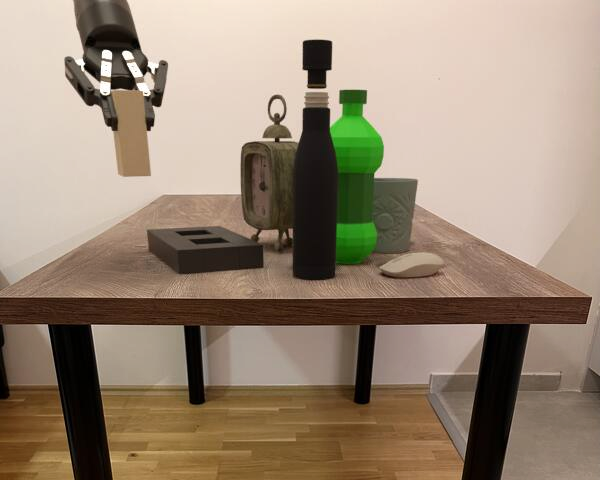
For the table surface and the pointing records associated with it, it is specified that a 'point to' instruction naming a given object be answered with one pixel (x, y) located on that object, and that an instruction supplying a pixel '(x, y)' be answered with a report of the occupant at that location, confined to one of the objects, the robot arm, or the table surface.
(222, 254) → the base
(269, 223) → the tabletop clock
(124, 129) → the tan wooden block
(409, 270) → the computer mouse
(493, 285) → the table surface
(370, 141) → the plastic bottle
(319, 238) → the black insulated flask
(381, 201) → the drinking glass
